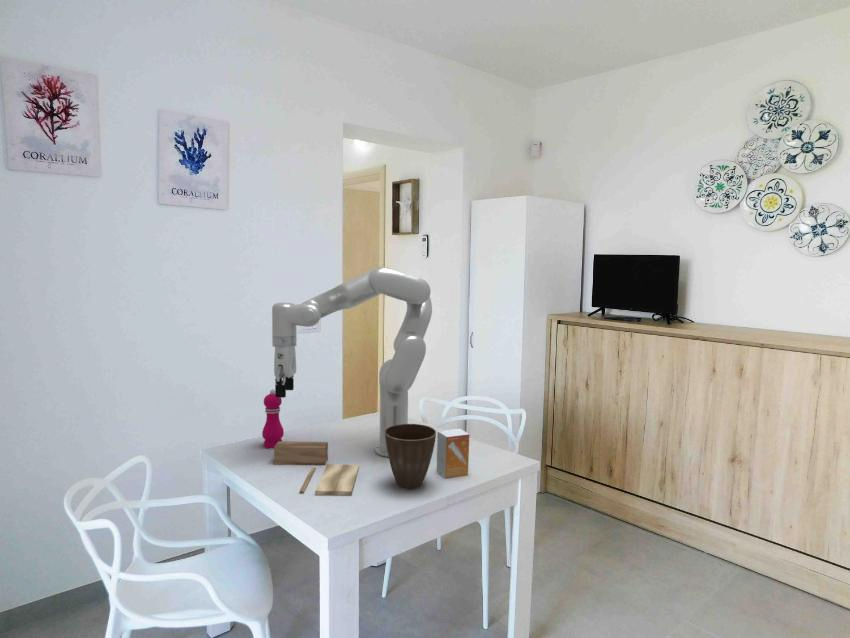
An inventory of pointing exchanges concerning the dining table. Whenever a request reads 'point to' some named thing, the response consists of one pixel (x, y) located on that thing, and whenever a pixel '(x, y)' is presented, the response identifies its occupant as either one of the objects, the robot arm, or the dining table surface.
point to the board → (334, 480)
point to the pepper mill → (272, 421)
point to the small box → (452, 453)
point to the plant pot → (410, 453)
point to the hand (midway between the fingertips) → (284, 393)
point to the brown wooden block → (300, 453)
